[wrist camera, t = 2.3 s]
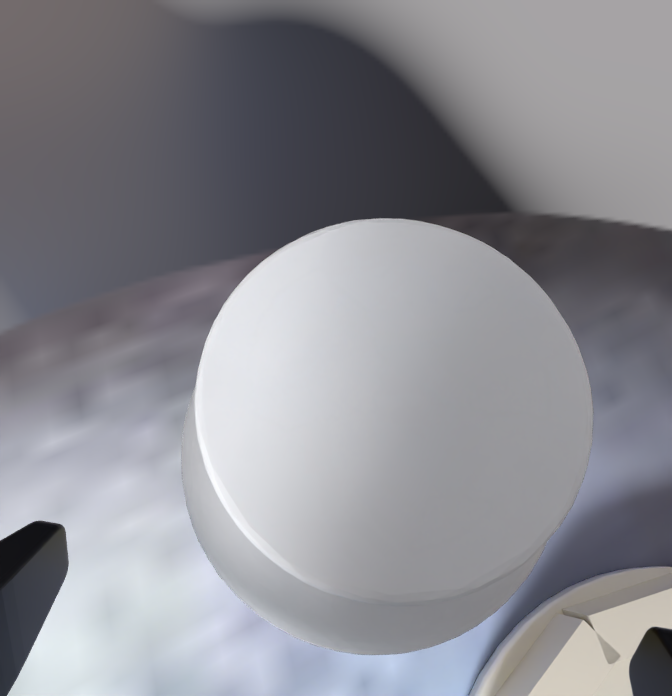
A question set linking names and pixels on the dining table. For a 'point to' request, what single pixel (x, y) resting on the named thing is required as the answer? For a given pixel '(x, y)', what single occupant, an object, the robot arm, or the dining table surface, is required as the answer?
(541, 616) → the ring tray
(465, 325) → the supplement bottle
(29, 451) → the dining table surface
